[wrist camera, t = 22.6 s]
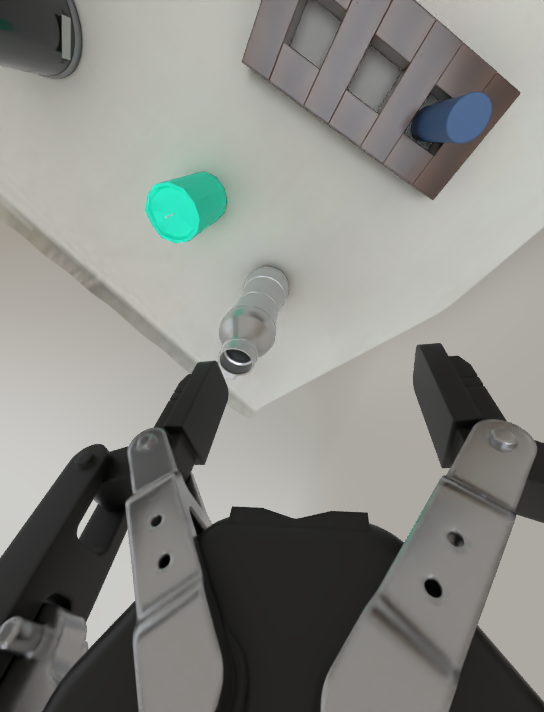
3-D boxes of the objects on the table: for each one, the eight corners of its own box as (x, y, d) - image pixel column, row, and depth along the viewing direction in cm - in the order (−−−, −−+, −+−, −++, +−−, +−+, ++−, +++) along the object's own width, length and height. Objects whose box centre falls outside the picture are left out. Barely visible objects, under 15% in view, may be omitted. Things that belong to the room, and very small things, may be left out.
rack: (249, 68, 30) (241, 61, 28) (298, -78, 25) (295, -106, 22) (424, 195, 35) (433, 200, 32) (503, 97, 29) (521, 92, 26)
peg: (404, 131, 32) (437, 129, 22) (426, 98, 30) (471, 81, 20) (425, 147, 32) (466, 152, 23) (448, 116, 30) (502, 107, 21)
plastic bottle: (294, 298, 46) (275, 383, 30) (253, 304, 47) (216, 388, 32) (285, 258, 42) (259, 331, 26) (242, 266, 44) (193, 339, 28)
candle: (212, 162, 36) (171, 171, 27) (235, 211, 39) (205, 234, 30) (175, 184, 38) (125, 200, 29) (199, 228, 41) (161, 256, 32)
